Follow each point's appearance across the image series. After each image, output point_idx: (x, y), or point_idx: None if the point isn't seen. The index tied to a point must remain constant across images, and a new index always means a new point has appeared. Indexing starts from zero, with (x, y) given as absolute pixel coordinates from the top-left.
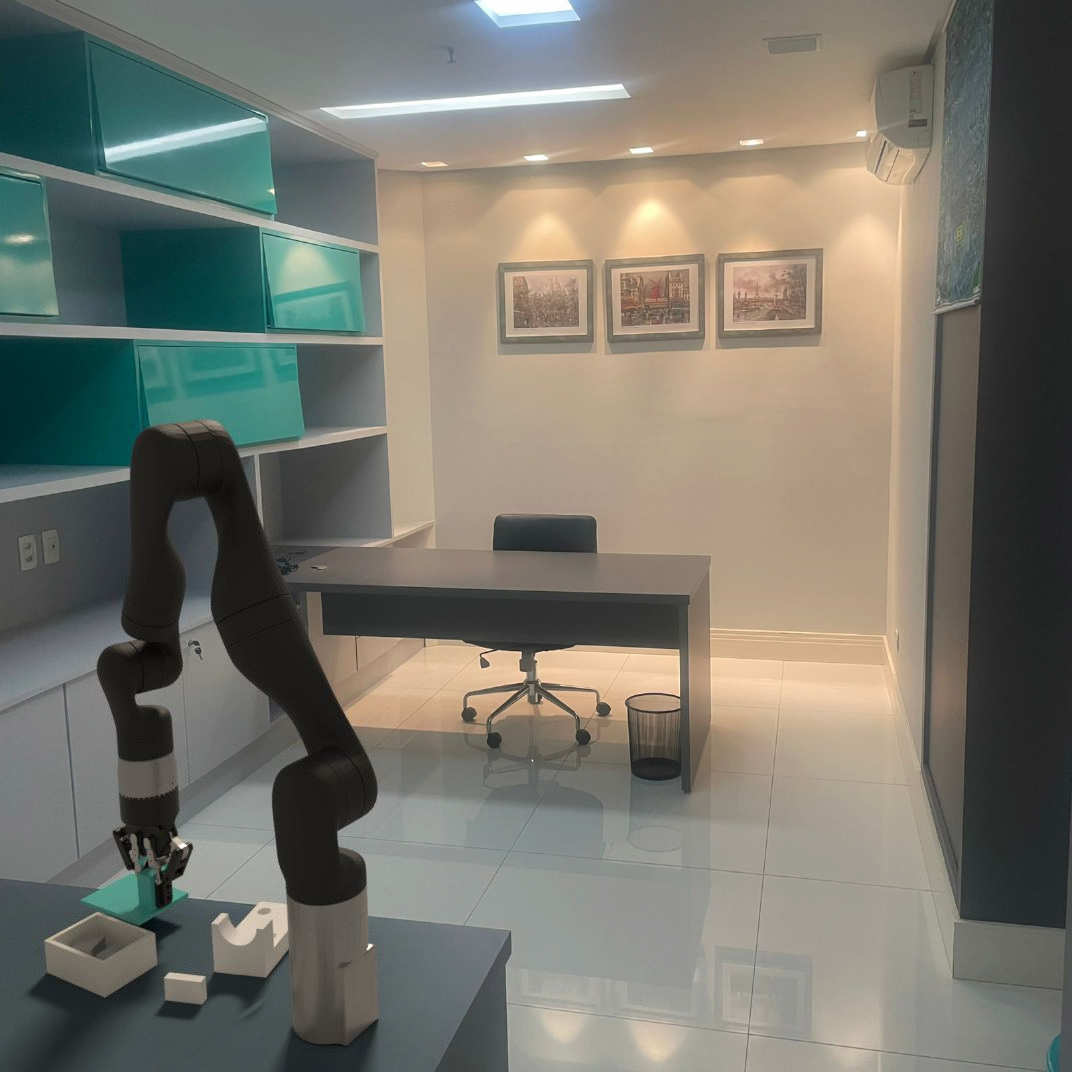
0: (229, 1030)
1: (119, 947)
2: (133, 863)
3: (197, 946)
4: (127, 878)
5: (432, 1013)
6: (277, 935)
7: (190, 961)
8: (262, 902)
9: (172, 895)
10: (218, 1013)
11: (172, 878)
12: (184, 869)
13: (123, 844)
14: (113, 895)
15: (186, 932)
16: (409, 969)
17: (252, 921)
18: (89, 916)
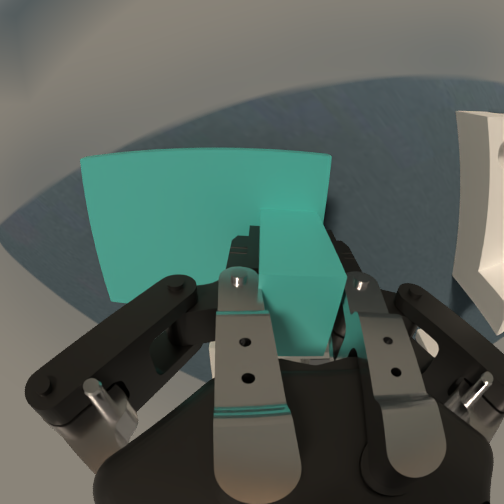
0: (482, 328)
1: (325, 362)
2: (195, 341)
3: (395, 224)
4: (95, 183)
5: None
6: None
7: (406, 264)
8: (492, 121)
9: (350, 251)
10: (470, 319)
11: (411, 338)
12: (443, 307)
13: (135, 407)
14: (146, 262)
15: (344, 191)
16: None
17: (501, 197)
18: (211, 361)
